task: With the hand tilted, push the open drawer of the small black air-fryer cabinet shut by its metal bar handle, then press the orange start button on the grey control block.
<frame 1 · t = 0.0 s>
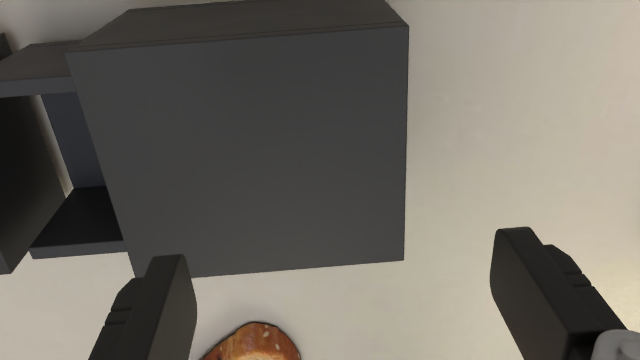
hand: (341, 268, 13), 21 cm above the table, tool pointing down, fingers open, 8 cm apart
drawer: (69, 145, 28), point 5 cm above the table, slide at 7.0 cm
fryer: (265, 100, 32), on the table
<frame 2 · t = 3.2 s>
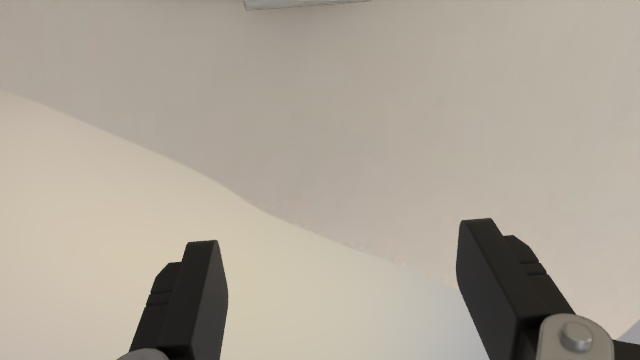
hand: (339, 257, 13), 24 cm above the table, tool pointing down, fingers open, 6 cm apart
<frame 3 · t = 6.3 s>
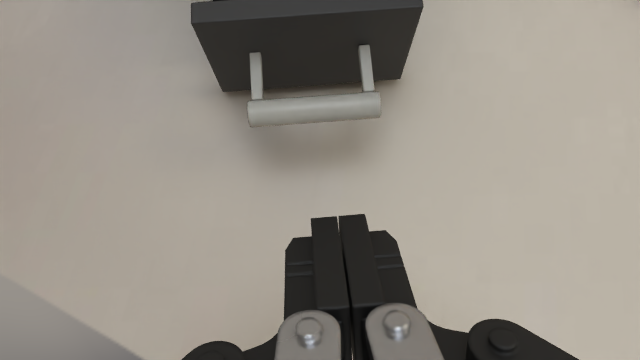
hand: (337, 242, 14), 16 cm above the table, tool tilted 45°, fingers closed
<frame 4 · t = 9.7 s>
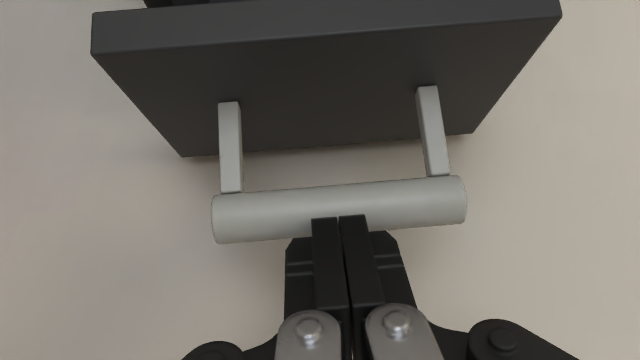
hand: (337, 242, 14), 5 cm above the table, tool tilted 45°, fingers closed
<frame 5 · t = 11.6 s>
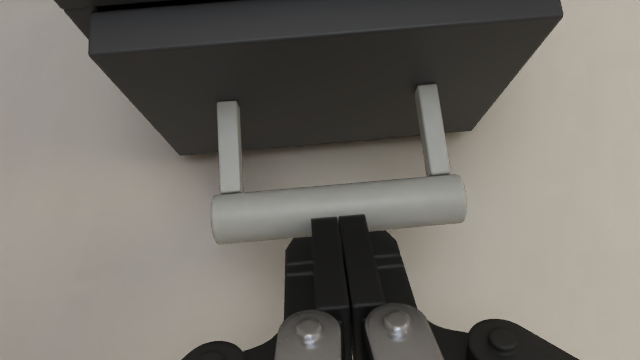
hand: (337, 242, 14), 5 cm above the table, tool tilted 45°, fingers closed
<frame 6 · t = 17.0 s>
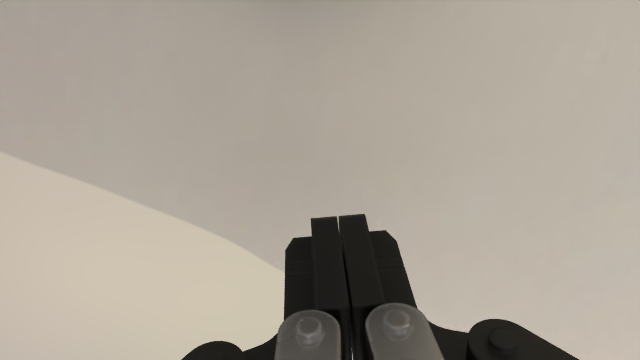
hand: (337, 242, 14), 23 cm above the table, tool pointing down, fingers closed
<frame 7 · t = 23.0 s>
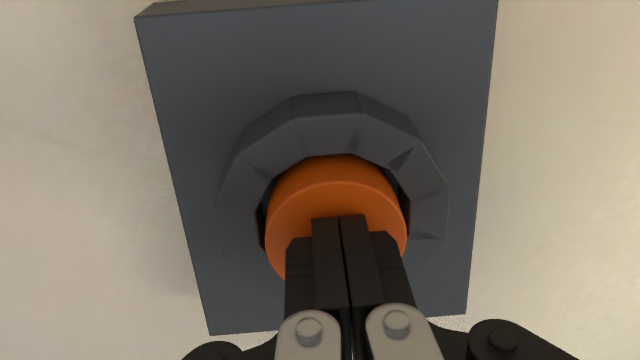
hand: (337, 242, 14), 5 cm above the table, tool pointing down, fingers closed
control block: (325, 162, 18), on the table
start button: (334, 226, 15), point 4 cm above the table, slide at -0.3 cm, touching gripper
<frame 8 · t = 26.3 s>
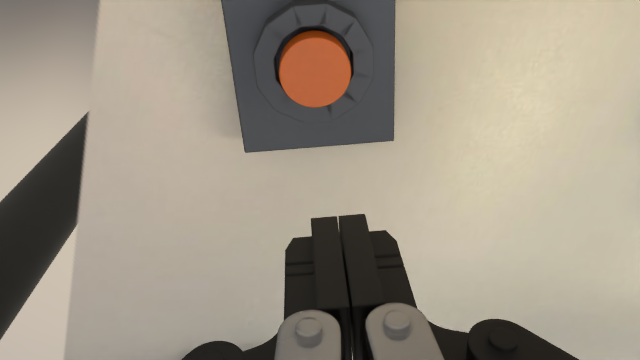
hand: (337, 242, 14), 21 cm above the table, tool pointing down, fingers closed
control block: (311, 48, 32), on the table
start button: (314, 69, 28), point 4 cm above the table, slide at 0.1 cm
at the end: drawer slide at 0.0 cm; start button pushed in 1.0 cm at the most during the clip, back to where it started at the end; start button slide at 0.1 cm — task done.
